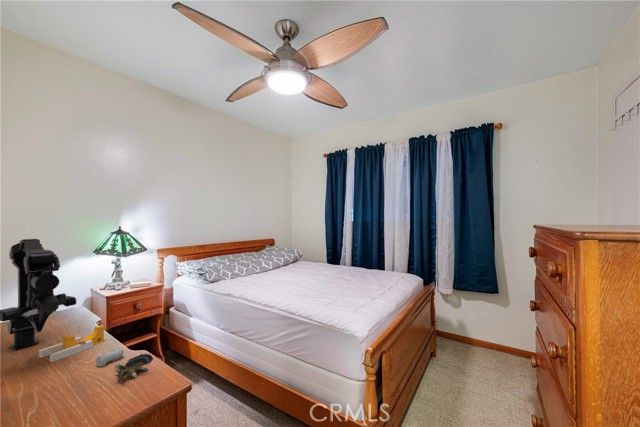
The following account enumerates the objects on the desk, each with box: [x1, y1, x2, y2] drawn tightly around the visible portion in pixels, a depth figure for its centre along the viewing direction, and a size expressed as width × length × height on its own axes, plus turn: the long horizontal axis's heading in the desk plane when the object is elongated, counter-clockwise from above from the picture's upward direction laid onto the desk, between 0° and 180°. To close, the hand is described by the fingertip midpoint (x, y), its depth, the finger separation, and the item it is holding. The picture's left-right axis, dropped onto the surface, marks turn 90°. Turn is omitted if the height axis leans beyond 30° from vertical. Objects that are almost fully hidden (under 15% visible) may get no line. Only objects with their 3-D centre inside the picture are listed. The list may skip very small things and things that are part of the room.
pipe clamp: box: [62, 324, 105, 350], centre depth 103 cm, size 12×4×6 cm, turn 156°
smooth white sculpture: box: [94, 347, 125, 368], centre depth 92 cm, size 4×8×5 cm
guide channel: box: [38, 336, 94, 363], centre depth 99 cm, size 9×12×3 cm
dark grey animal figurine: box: [114, 353, 154, 384], centre depth 84 cm, size 8×7×9 cm
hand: (38, 331), depth 91 cm, fingers closed
